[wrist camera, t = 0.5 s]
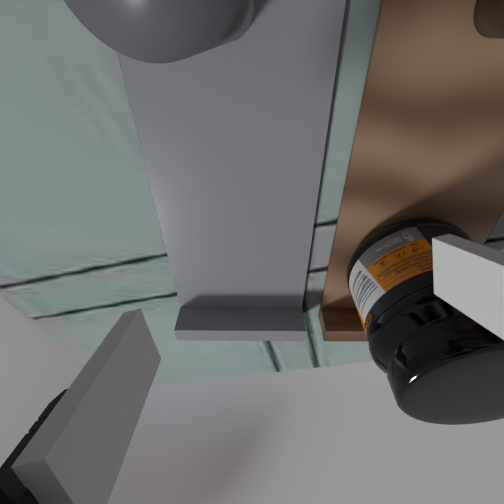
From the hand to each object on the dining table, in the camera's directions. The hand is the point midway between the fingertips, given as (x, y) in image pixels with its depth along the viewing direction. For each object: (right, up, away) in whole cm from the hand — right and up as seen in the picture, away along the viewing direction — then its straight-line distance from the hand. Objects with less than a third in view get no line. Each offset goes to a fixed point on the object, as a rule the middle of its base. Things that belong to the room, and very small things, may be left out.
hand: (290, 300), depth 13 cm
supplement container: (+12, +1, +14) cm, 18 cm away
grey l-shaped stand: (-3, +6, +10) cm, 12 cm away
